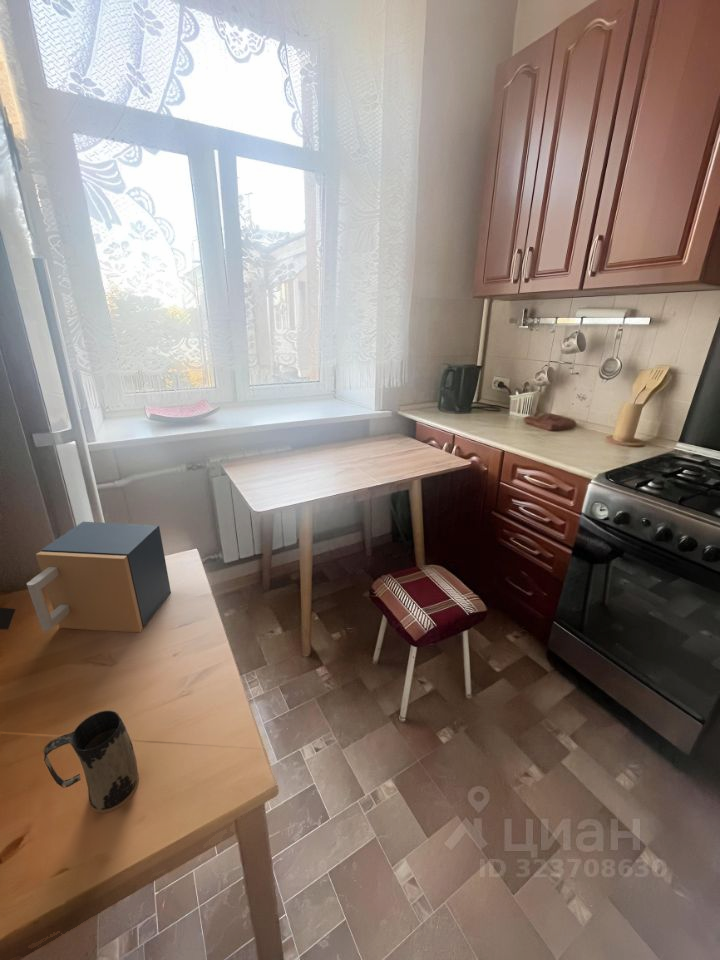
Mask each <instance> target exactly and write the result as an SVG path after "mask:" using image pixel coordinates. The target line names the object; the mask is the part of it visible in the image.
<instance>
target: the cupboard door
mask: <svg viewBox="0 0 720 960" xmlns="http://www.w3.org/2000/svg"><path fill="white" fill-rule="evenodd" d="M35 555H36V556H35V557H36V560H37V563H38V567H39V569H40V573H39V574H37V575H36V576H34V577H33V578H31V579H30V580H29V581H28V582H26V586H27V589H28V593H29V595H30V599H31V601H32V604H33V607H34V611H35V613H36V616H37V618H38V623H39V625H40V628H41V631H42V632H44V633H45V632H50V631H52V630H53V629H54V628H55V627H56V626H57V625H58V628H59V629H72V630H74V629H75V630H91V631H105V632H106V631H109V632H123V633H124V632H125V633H126V632H127V633H141V632H142V631H143V629H144V628H143V627H142V622H141V618H140V613H139V608H138V604H137V599H136V595H135V590H134V586H133V581H132V577H131V572H130V568H129V563H128V558H127V556H119V555H99V554H79V553H60V552H42V551H38V552H37V553H36V554H35ZM44 587H45V588H46V591H47V594H48V597H49V600H50V603H51V606H52V611H51V612H50V610H49V609H48V608H49V607H48V604H47V602H46V599H45V596H44V592H43V588H44Z"/></svg>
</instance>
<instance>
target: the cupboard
mask: <svg viewBox="0 0 720 960" xmlns="http://www.w3.org/2000/svg"><path fill="white" fill-rule="evenodd" d="M163 545H164V544H163V540H162V534H161V528H160V525H159V524H141V523H140V524H139V523H123V522H122V523H120V522H101V521H100V522H99V521H98V522H97V521H82V522H80V523H79V524H77V525H76V526H74V527H73V528H72V529H70V530H68V531H67V532H65V533H64V534H62V535H61V536H59V537H58V538H56V539H55V540H53V541H52V542H50V543H49V544H48V545H46V546H45V547H43V548H41V551H40V552H60V553H79V554H99V555H119V556H127V558H128V563H129V568H130V572H131V577H132V581H133V586H134V590H135V595H136V599H137V604H138V608H139V613H140V618H141V622H142V627H143V629H144V628H145V627H146V626H147V625H148V623H150V621H151V620H152V619H153V617H154V616H155V614H156V613H157V612H158V610H159V609H160V608H161V606H162V605H163V604H164V602H165V601H166V600H167V598H168V597H169V596H170V595H171V593H172V591H171V585H170V584H171V583H170V579H169V574H168V567H167V562H166V556H165V551H164V546H163Z"/></svg>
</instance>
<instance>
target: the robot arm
mask: <svg viewBox="0 0 720 960" xmlns="http://www.w3.org/2000/svg"><path fill="white" fill-rule="evenodd" d="M15 612H16V608H9V607H1V606H0V630H9V628H10V625H11V623H12V620H13V619H14V618H13V617H14V615H15Z"/></svg>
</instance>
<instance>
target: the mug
mask: <svg viewBox="0 0 720 960" xmlns="http://www.w3.org/2000/svg"><path fill="white" fill-rule="evenodd" d="M68 744H70V745H71V746H72V748H73V750H74V753H76V754H77V758H78V759H79V762H80V765H81V767H82V770H83V774H84V778H85V781H86V786H87V791H88V793H87V794H88V801H89V805H90V808H91V809H92V810H93V811H94V812H97V813H99V814H101V813H102V814H105V813H110V812H113V811H115V810H117V809H120V807H122V806H123V805H124V804H126V803H127V802H128V801H130V799H131V798H132V797H133V795H134V794H135V792H136V790H137V788H138V786H139V781H140V775H139V774H140V773H139V771H138V762H137V757H136V754H135V749H134V745H133V743H132V740H131V738H130V734H129V732H128V730H127V727H126V725H125V724H124V721H123V720H122V717H121V716H120V715H119V713H117V712H116V711H113V710H102V711H98V712H96V713H94V714H92V715H90V716H88V717H87V718H85V719H84V720H83V721H81V722H80V723H79V725H77V726H76V728H75V729H74V731H72V732H70V733H66V734H63V735H60V736H58V737H56V738H54V739H52V740H51V741H49V742H48V743H47V744H46V745H45V746H44V749H43V754H44V755H43V756H44V757H43V761H44V764H45V766H46V767H47V769H48V771H49V773H50V775H51V777H52V779H53V780H54V781H55V783H56V785H59V786H60V787H61V788H63V789H64V788H68V787H71V786H73V785H74V784H76V783H77V782H79V781H81V780H82V779H81V773H77V774H75V775H73V777H70V778H69V779H62V777H60V776H59V775H58V774H57V772H56V770H55V769H54V767H53V765H52V763H51V761H50V759H49V757H48V755H49V754H50V753H52V751H54V750H56V749H58V748H60V747H62V746H65V745H68Z"/></svg>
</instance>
